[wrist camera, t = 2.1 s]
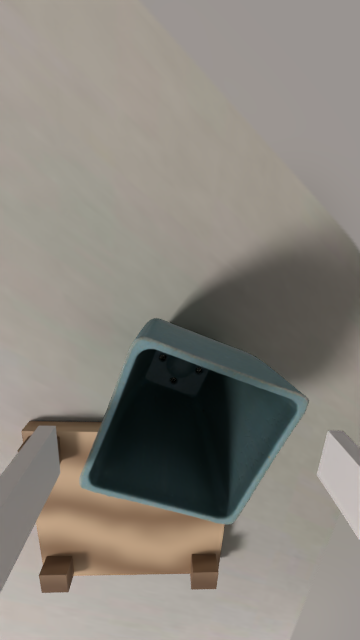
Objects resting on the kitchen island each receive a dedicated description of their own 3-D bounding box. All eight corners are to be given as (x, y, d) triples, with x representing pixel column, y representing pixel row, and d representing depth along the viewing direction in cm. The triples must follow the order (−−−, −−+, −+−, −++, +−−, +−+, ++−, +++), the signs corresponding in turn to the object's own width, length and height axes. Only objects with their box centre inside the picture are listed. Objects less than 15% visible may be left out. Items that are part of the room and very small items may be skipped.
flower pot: (253, 334, 20) (316, 400, 11) (208, 419, 22) (232, 530, 13) (151, 293, 19) (135, 333, 10) (114, 388, 21) (74, 488, 12)
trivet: (29, 421, 21) (10, 445, 19) (233, 423, 22) (242, 447, 20) (50, 561, 26) (37, 596, 24) (215, 559, 27) (220, 591, 25)
